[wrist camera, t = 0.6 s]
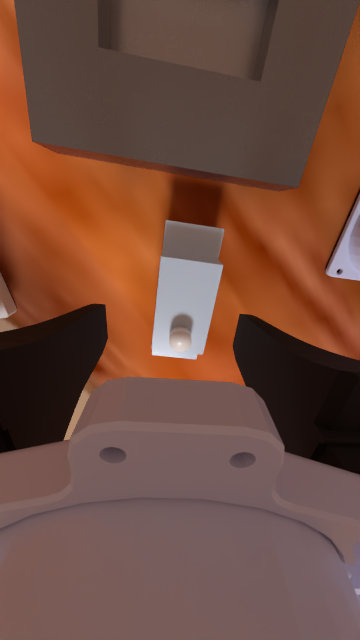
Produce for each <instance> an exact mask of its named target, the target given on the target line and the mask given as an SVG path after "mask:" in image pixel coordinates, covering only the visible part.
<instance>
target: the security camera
mask: <svg viewBox="0 0 360 640" xmlns="http://www.w3.org/2000/svg"><path fill="white" fill-rule="evenodd" d="M16 311H17V308H16V306H15V304H14V301H13V299H12V297H11V295H10V293H9V290H8V288H7V286H6V284H5V282H4V279H3V277H2V275H1V273H0V318H7V317H8V316H10V315H12V314H13V313H15V312H16Z"/></svg>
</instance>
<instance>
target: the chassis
mask: <svg viewBox="0 0 360 640" xmlns="http://www.w3.org/2000/svg"><path fill="white" fill-rule="evenodd" d="M14 2H15V10H16V18H17V26H18V33H19V41H20V49H21V57H22V65H23V73H24V81H25V89H26V97H27V104H28V112H29V120H30V128H31V136H32V141H33V142H35V143H37V144H39V145H41V146H43V147H45V148H47V149H50V150H52V151H54V152H56V153H59V154H65V155H70V156H76V157H82V158H88V159H93V160H99V161H105V162H111V163H117V164H122V165H128V166H134V167H140V168H146V169H151V170H157V171H163V172H169V173H175V174H180V175H186V176H192V177H198V178H204V179H209V180H215V181H221V182H227V183H233V184H238V185H244V186H250V187H256V188H262V189H267V190H273V191H283V190H289V189H294V188H298V187H299V184H300V181H301V178H302V175H303V172H304V169H305V166H306V163H307V160H308V157H309V153H310V150H311V147H312V144H313V141H314V138H315V135H316V132H317V129H318V126H319V123H320V120H321V117H322V114H323V111H324V108H325V105H326V102H327V99H328V96H329V93H330V90H331V87H332V84H333V81H334V78H335V75H336V72H337V69H338V66H339V63H340V60H341V57H342V54H343V50H344V47H345V44H346V41H347V38H348V35H349V32H350V29H351V26H352V23H353V20H354V17H355V14H356V11H357V8H358V5H359V2H360V0H14Z"/></svg>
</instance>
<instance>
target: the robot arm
mask: <svg viewBox="0 0 360 640" xmlns="http://www.w3.org/2000/svg"><path fill="white" fill-rule="evenodd" d="M338 269H340V271H339V272H338V273H337V270H338ZM326 274H327V275H329V276H331V277H338V278H345V279H352V280H359V281H360V194H359V196H358V198H357V201H356V203H355V205H354V207H353V210H352V212H351V214H350V216H349V219H348V221H347V223H346V225H345V228H344V230H343V232H342V234H341V237H340V239H339V241H338V244H337V246H336V248H335V250H334V253H333V255H332V257H331V259H330V262H329V264H328V266H327V268H326ZM107 339H108V334H107V321H106V308H105V305H104V304H90V305H87V306H84V307H82V308H79V309H76V310H74V311H72V312H69V313H67V314H64V315H61V316H59V317H56V318H53V319H50V320H47V321H44V322H41V323H38V324H35V325H31V326H27V327H23V328H19V329H14V330H10V331H4V332H0V640H360V361H359V360H355V359H352V358H348V357H345V356H341V355H338V354H335V353H332V352H329V351H326V350H323V349H321V348H318V347H315V346H313V345H311V344H308V343H306V342H303V341H301V340H299V339H297V338H295V337H293V336H291V335H289V334H287V333H285V332H283V331H281V330H279V329H277V328H276V327H274V326H272V325H270V324H269V323H267V322H265V321H263V320H261V319H260V318H258V317H256V316H253V315H247V314H240V315H239V320H238V324H237V329H236V333H235V337H234V342H233V350H234V355H235V359H236V362H237V365H238V367H239V370H240V372H241V375H242V377H243V380H244V382H245V385H246V386H243V385H239V384H235V383H232V382H217V381H199V380H180V379H162V378H144V377H126V378H119V379H112V380H107V381H106V382H104V383H103V384H102V385H100V386H99V387H98V388H96V389H95V390H94V391H92V392H91V395H90V397H89V399H88V401H87V403H86V405H85V408H84V410H83V412H82V414H81V416H80V418H79V420H78V422H77V425H76V427H75V429H74V431H73V433H72V435H71V437H70V440H65V441H63V440H64V437H65V434H66V431H67V428H68V426H69V423H70V421H71V418H72V415H73V413H74V409H75V407H76V405H77V402H78V400H79V397H80V395H81V393H82V390H83V388H84V386H85V384H86V383H87V381H88V379H89V377H90V375H91V373H92V372H93V370H94V368H95V366H96V364H97V362H98V361H99V359H100V357H101V355H102V353H103V350H104V348H105V345H106V342H107Z"/></svg>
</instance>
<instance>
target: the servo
mask: <svg viewBox="0 0 360 640" xmlns="http://www.w3.org/2000/svg"><path fill="white" fill-rule="evenodd" d="M223 234H224V229H223V228H216V227H210V226H204V225H197V224H191V223H184V222H178V221H171V220H166V224H165V234H164V243H163V252H162V255H161V261H160V271H159V281H158V290H157V300H156V310H155V320H154V330H153V340H152V355H159V356H168V357H178V358H187V359H196V358H197V354H202V355H203V352H204V347H205V343H206V339H207V334H208V330H209V326H210V321H211V317H212V313H213V308H214V304H215V300H216V295H217V291H218V287H219V282H220V278H221V273H222V269H223V264H222V263H221V262H220V261H219V259H218V257H219V252H220V248H221V243H222V238H223Z"/></svg>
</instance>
